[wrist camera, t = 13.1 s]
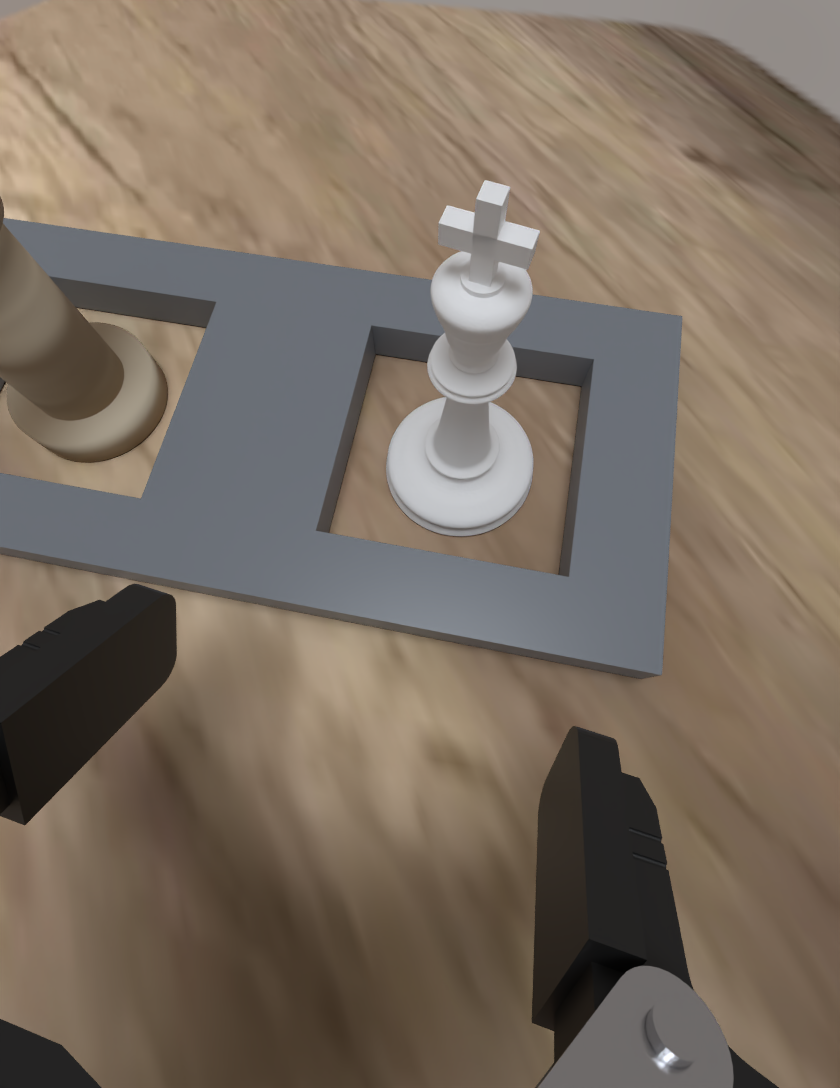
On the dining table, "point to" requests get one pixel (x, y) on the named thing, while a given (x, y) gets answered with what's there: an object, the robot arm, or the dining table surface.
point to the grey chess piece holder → (324, 445)
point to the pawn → (70, 367)
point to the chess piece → (470, 380)
